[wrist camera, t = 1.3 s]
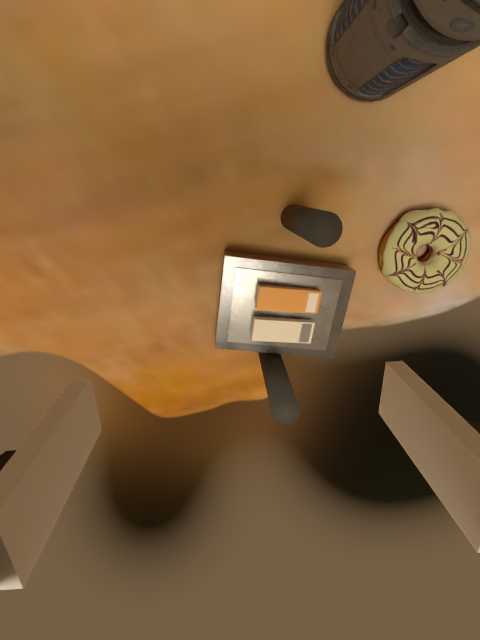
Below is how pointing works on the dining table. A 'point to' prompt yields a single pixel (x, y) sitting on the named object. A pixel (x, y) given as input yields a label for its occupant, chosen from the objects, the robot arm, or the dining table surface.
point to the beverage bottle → (397, 42)
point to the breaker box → (280, 271)
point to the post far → (279, 389)
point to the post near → (312, 224)
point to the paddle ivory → (282, 330)
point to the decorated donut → (440, 262)
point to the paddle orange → (287, 299)
